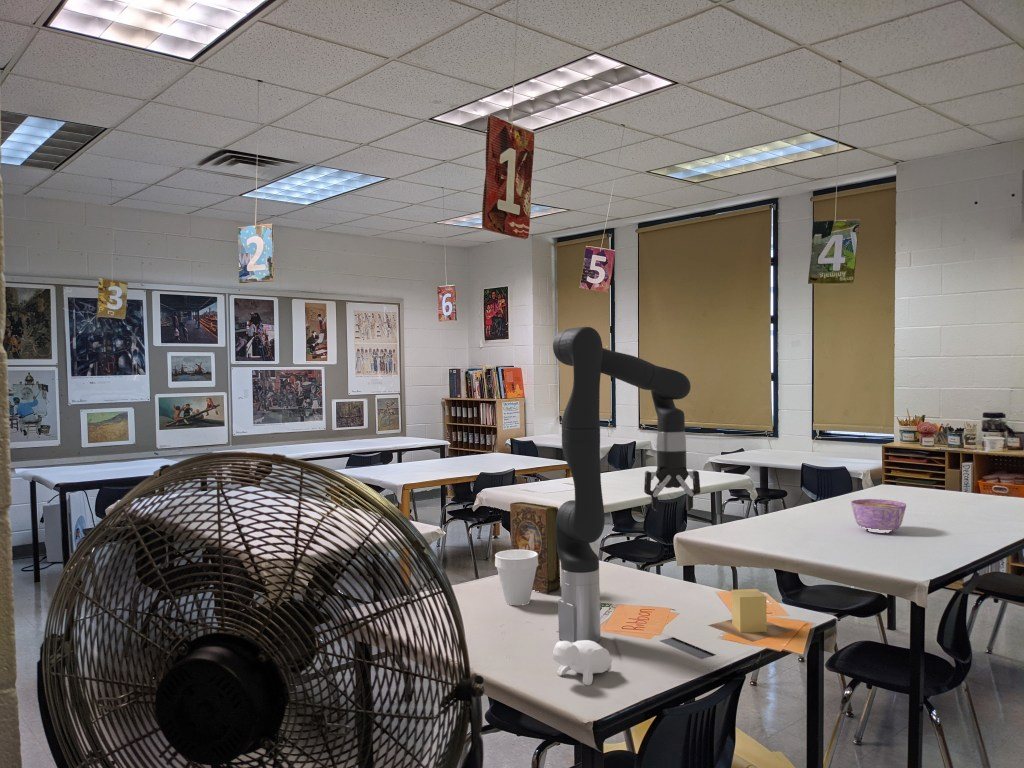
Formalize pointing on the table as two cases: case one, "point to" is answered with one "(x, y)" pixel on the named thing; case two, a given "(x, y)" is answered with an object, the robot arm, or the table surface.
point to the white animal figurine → (582, 658)
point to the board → (750, 636)
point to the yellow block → (749, 610)
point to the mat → (687, 648)
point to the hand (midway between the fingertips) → (672, 510)
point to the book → (537, 541)
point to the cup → (516, 574)
